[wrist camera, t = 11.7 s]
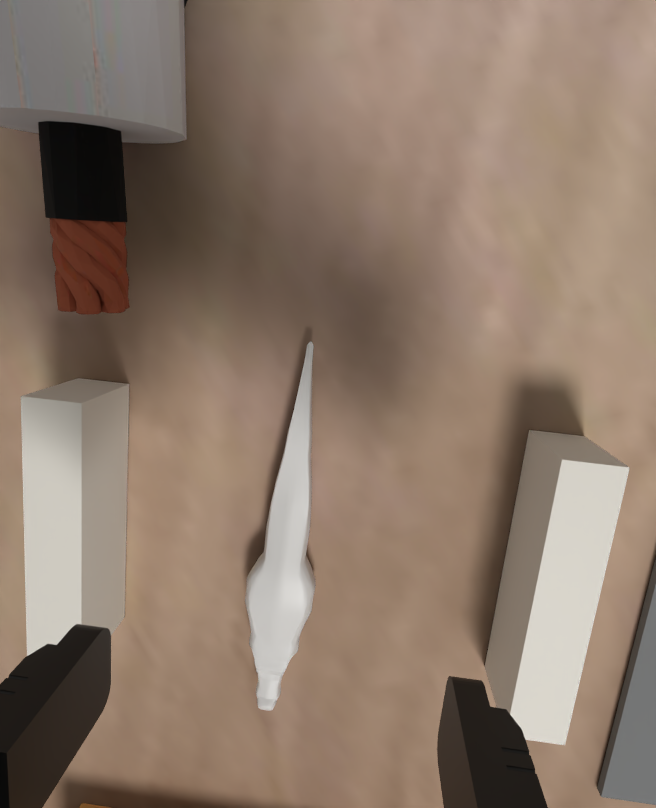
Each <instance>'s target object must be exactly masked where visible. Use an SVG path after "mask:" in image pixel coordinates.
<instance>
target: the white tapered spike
mask: <svg viewBox="0 0 656 808" xmlns="http://www.w3.org/2000/svg"><path fill="white" fill-rule="evenodd" d="M313 349H314V345H313V344H312V342H311V341H310V342H309V343H308V344H307V349H306V355H305V361H304V366H303V371H302V375H301V380H300V384H299V389H298V393H297V398H296V403H295V407H294V412H293V415H292V419H291V422H290V426H289V429H288V434H287V439H286V444H285V449H284V453H283V457H282V461H281V464H280V468H279V472H278V475H277V479H276V483H275V488H274V492H273V496H272V500H271V505H270V510H269V516H268V521H267V527H266V536H265V546H264V552H263V553H262V554H261V556H260V557H259V558H258V560H257V561H256V563H255V565H254V566H253V568H252V569H251V571H250V573H249V574H248V577H247V589H246V596H245V604H246V608H247V612H248V616H249V621H250V627H251V635H250V639H249V645H250V647H251V648H252V651H253V655H254V661H255V666H256V672H258V683H257V686H256V695H257V704H258V708H260V709H262V710H269V711H270V710H273V708H274V706H275V704H276V702H277V699H278V697H279V696H280V693H281V679H282V676H283V674H284V672H285V670H286V668H287V666H288V664H289V661H290V659H291V658H292V657H293V656H294V655H295V654H296V653H297V651H298V646H299V638H300V633H301V631H302V629H303V627H304V625H305V622H306V620H307V618H308V617H309V615H310V613H311V610H312V603H313V595H314V591H315V586H316V581H315V576H314V574H313V571H312V567H311V564H310V562H309V560H308V558H307V556H306V551H307V545H308V538H309V532H310V522H311V504H312V471H311V449H312V362H313Z"/></svg>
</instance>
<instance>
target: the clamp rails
mask: <svg viewBox="0 0 656 808" xmlns="http://www.w3.org/2000/svg"><path fill="white" fill-rule="evenodd" d="M21 423H22V464H23V505H24V547H25V588H26V629H27V656H28V655H30V654H32V653H33V652H35V651H36V650H38V649H40V648H41V647H43V646H45V645H46V644H54V645H57V644H58V643H59V642H60V641H61V639H62V638H63V637H64V636H65V635H66V634H67V633H68V631H69V630H70V629H71V628H72V627H73V626H74V625H76V624H82V625H89V626H96V627H104V628H108V629H109V630H110V633H111V635H112V634H113V632H114V631H115V629H116V628H117V627H118V625H119V624H120V623H121V621H122V620H123V619H124V617H125V572H126V523H127V474H128V425H129V384H125V383H116V382H108V381H99V380H90V379H82V378H77V379H74V380H71V381H68V382H64V383H61V384H58V385H55V386H52V387H49V388H45V389H42V390H39V391H36V392H33V393H29V394H26V395H23V396H21ZM629 468H630V467H628V466H627V465H625V464H624V463H622V462H621V461H619V460H618V459H617V458H615V457H614V456H612V455H611V454H609V453H608V452H607V451H605V450H604V449H602V448H601V447H599V446H598V445H597V444H595V443H594V442H592V441H591V440H589V439H588V438H587V437H585V436H578V435H570V434H561V433H552V432H543V431H535V430H529V433H528V438H527V444H526V449H525V454H524V460H523V465H522V470H521V476H520V481H519V486H518V492H517V497H516V502H515V508H514V513H513V518H512V524H511V529H510V534H509V540H508V545H507V550H506V555H505V561H504V566H503V571H502V577H501V582H500V587H499V593H498V598H497V603H496V609H495V614H494V619H493V625H492V630H491V635H490V641H489V646H488V651H487V657H486V662H485V670H486V673H487V677H488V680H489V683H490V687H491V690H492V693H493V697H494V700H495V703H496V707H497V708H501V709H506V710H507V711H508V712H509V714H510V715H511V716H512V717H513V719H514V720H515V721H516V722H517V724H518V725H519V726H520V728H521V729H522V731H523V734H524V737H525V740H532V741H539V742H546V743H553V744H560V745H565V742H566V738H567V734H568V729H569V725H570V721H571V717H572V712H573V708H574V704H575V699H576V695H577V691H578V687H579V682H580V678H581V674H582V669H583V665H584V661H585V657H586V652H587V648H588V644H589V639H590V635H591V631H592V627H593V622H594V618H595V614H596V609H597V605H598V601H599V597H600V592H601V588H602V584H603V580H604V575H605V571H606V567H607V562H608V558H609V554H610V550H611V545H612V541H613V537H614V532H615V528H616V524H617V520H618V515H619V511H620V507H621V502H622V498H623V494H624V490H625V485H626V481H627V477H628V472H629Z"/></svg>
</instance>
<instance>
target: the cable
mask: <svg viewBox="0 0 656 808" xmlns="http://www.w3.org/2000/svg"><path fill="white" fill-rule="evenodd" d="M186 3H187V0H0V127H5V128H10V129H15V130H20V131H26V132H33V133H39V141H40V153H41V165H42V177H43V190H44V202H45V214H46V217H47V218H50V233H51V235H52V237H53V239H54V240H53V244H52V251H53V259H54V262H55V266H56V272H55V284H56V293H57V303H58V310H60V311H67V312H73V311H76V313H79V314H99V313H101V312H106V313H121V312H124V311H125V309H127V308H129V307H130V306H129V300H128V286H129V278H128V274H127V271H126V264H127V250H126V246H125V242H124V238H125V236H126V225H125V222H127V211H126V196H125V181H124V166H123V151H122V142H131V143H157V144H161V143H177V142H180V141H184V140H187V136H186V81H185V25H184V8H185V5H186Z"/></svg>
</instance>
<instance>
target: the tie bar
mask: <svg viewBox="0 0 656 808" xmlns="http://www.w3.org/2000/svg"><path fill="white" fill-rule="evenodd" d="M79 808H111V807H105V806H98V805H92V804H85V803H82V804H81V805H80V807H79Z"/></svg>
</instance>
